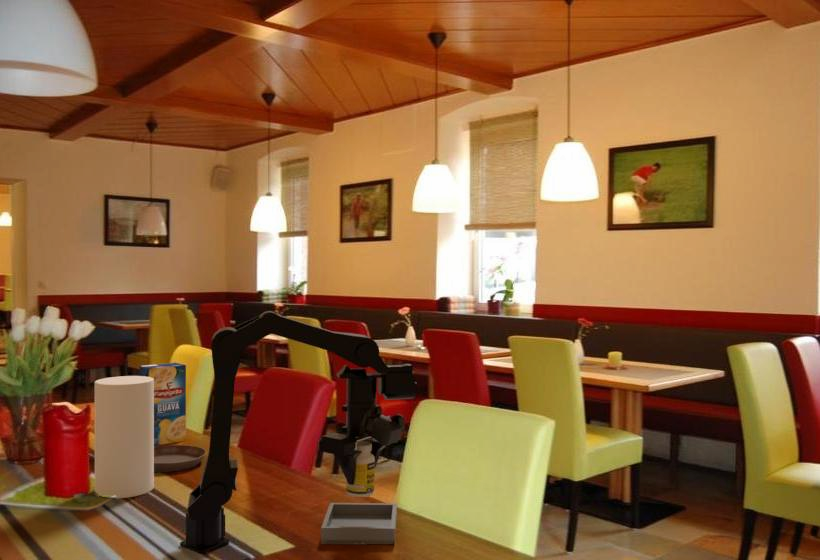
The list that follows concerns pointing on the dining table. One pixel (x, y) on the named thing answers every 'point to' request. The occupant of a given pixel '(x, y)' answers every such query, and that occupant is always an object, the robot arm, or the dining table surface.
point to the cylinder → (124, 436)
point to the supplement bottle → (363, 472)
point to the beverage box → (168, 401)
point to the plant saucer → (177, 457)
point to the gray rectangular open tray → (359, 523)
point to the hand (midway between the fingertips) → (360, 480)
